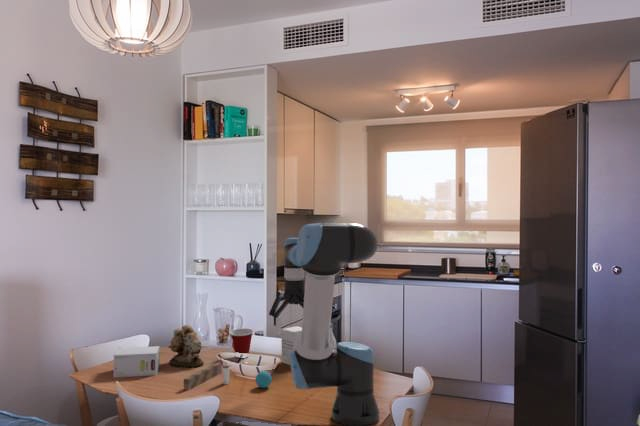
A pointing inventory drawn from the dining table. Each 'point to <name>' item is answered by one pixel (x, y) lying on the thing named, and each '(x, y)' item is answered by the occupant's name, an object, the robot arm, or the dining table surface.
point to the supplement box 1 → (136, 361)
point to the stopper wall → (202, 376)
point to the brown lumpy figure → (186, 348)
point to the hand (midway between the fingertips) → (294, 336)
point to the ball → (263, 379)
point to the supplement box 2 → (290, 341)
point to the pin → (226, 372)
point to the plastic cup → (241, 340)
